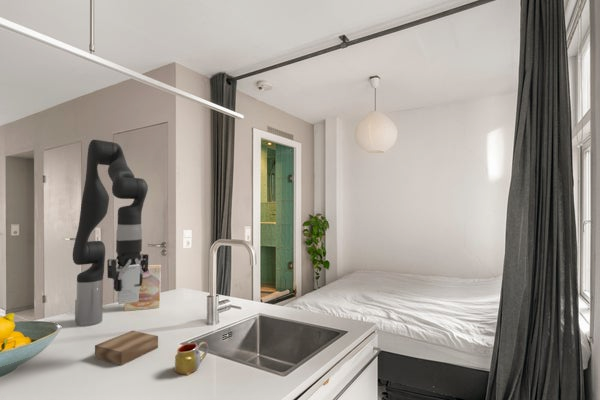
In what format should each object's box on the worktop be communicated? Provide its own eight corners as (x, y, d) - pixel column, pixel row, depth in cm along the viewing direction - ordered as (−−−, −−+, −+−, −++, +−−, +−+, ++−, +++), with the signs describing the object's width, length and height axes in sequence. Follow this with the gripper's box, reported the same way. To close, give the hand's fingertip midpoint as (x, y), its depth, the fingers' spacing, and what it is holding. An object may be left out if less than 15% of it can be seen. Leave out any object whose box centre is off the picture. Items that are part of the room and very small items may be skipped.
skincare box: (118, 304, 108) (119, 266, 108) (117, 301, 112) (117, 264, 112) (139, 301, 111) (140, 264, 112) (137, 298, 115) (138, 262, 115)
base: (94, 358, 107) (94, 345, 107) (132, 341, 120) (132, 330, 120) (121, 365, 102) (121, 352, 102) (157, 347, 115) (158, 335, 115)
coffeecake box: (124, 311, 154) (125, 268, 155) (126, 307, 161) (126, 265, 161) (159, 308, 160) (160, 266, 160) (160, 304, 166) (160, 264, 167)
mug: (185, 378, 95) (186, 354, 95) (169, 371, 99) (170, 348, 99) (216, 361, 106) (217, 339, 106) (200, 356, 109) (201, 335, 109)
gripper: (139, 236, 120) (138, 282, 120) (101, 239, 107) (100, 292, 107) (155, 236, 117) (154, 285, 117) (117, 240, 104) (117, 294, 104)
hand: (128, 288), depth 112 cm, fingers closed on skincare box, 7 cm apart
